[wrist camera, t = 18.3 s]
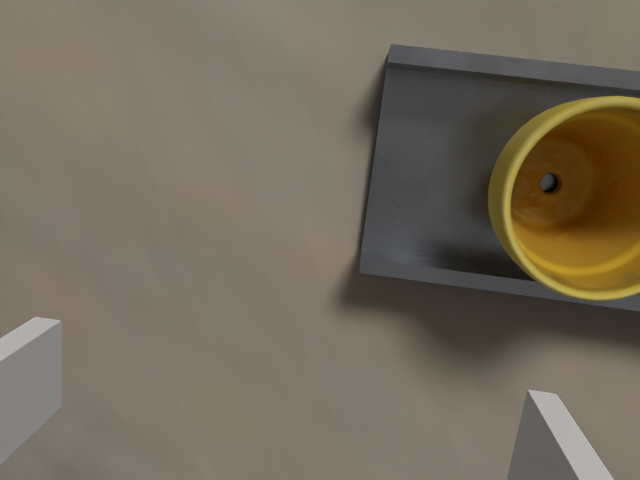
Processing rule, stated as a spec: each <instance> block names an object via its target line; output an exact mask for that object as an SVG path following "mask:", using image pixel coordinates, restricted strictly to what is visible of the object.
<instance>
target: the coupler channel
mask: <svg viewBox="0 0 640 480" xmlns="http://www.w3.org/2000/svg"><path fill="white" fill-rule="evenodd" d="M604 96H626V97H634V98H640V71H630V70H621V69H612V68H603V67H594V66H585V65H576V64H567V63H558V62H549V61H540V60H531V59H522V58H513V57H503V56H494V55H485V54H476V53H467V52H458V51H449V50H440V49H431V48H422V47H413V46H404V45H395V44H391V46H390V49H389V52H388V58H387V65H386V72H385V80H384V87H383V94H382V101H381V109H380V116H379V123H378V130H377V138H376V145H375V152H374V159H373V166H372V174H371V181H370V188H369V195H368V203H367V210H366V217H365V224H364V232H363V239H362V246H361V253H360V268H359V273H363V274H371V275H378V276H385V277H392V278H400V279H407V280H414V281H422V282H429V283H436V284H443V285H451V286H458V287H465V288H473V289H480V290H487V291H495V292H502V293H509V294H516V295H524V296H531V297H538V298H546V299H553V300H560V301H567V302H575V303H582V304H589V305H597V306H604V307H611V308H618V309H626V310H633V311H640V293H639V294H636V295H633V296H630V297H626V298H622V299H617V300H609V301H588V300H580V299H575V298H570V297H567V296H564V295H561V294H558V293H556V292H554V291H552V290H549V289H548V288H546V287H544V286H542V285H541V284H539V283H538V282H537V281H535V280H534V279H533V278H531V277H530V276H529V275H528V274H527V273H525V272H524V271H523V270H522V269H521V268H520V267H519V266H518V265H517V264H516V263H515V262H514V261H513V260H512V258H511V257H510V256H509V255H508V254H507V252H506V251H505V250H504V248H503V247H502V245H501V244H500V242H499V240H498V238H497V236H496V234H495V232H494V229H493V226H492V223H491V220H490V215H489V209H488V190H489V184H490V179H491V175H492V172H493V169H494V166H495V164H496V161H497V159H498V157H499V155H500V153H501V152H502V150H503V148H504V147H505V145H506V144H507V143H508V141H509V140H510V139H511V138H512V136H513V135H514V134H515V133H516V132H517V131H518V130H519V129H520V128H521V127H522V126H524V125H525V124H526V123H527V122H529V121H530V120H531V119H533V118H534V117H536V116H537V115H539V114H541V113H542V112H544V111H546V110H548V109H550V108H553V107H555V106H558V105H561V104H564V103H568V102H571V101H576V100H580V99H586V98H594V97H604ZM540 186H541V189H542V190H543V191H545V192H552V191H554V190H555V189H556V188H557V186H558V178H557V177H556V176H555V175H554V174H551V173H549V174H546V175H545V176H544V177H543V178H542V180H541V183H540Z"/></svg>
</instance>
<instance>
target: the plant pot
mask: <svg viewBox="0 0 640 480" xmlns="http://www.w3.org/2000/svg"><path fill="white" fill-rule="evenodd" d="M549 173H551V174H554V175H555V176H556V177H557V178H558V186H557V188H556V189H555V190H554V191H552V192H545V191H543V190H542V189H541V186H540V183H541V180H542V178H543V177H544V176H545V175H546V174H549ZM488 209H489V215H490V220H491V223H492V226H493V229H494V232H495V234H496V236H497V238H498V240H499V242H500V244H501V245H502V247H503V248H504V250H505V251H506V252H507V254H508V255H509V256H510V257H511V258H512V260H513V261H514V262H515V263H516V264H517V265H518V266H519V267H520V268H521V269H522V270H523V271H524V272H525V273H527V274H528V275H529V276H530V277H531V278H533V279H534V280H535V281H537V282H538V283H539V284H541V285H542V286H544V287H546V288H548V289H549V290H552V291H554V292H556V293H558V294H561V295H564V296H567V297H570V298H575V299H580V300H588V301H609V300H617V299H622V298H626V297H630V296H633V295H636V294H639V293H640V98H634V97H626V96H604V97H594V98H586V99H580V100H576V101H571V102H568V103H564V104H561V105H558V106H555V107H553V108H550V109H548V110H546V111H544V112H542V113H541V114H539V115H537V116H536V117H534V118H533V119H531V120H530V121H529V122H527V123H526V124H525V125H524V126H522V127H521V128H520V129H519V130H518V131H517V132H516V133H515V134H514V135H513V136H512V138H511V139H510V140H509V141H508V143H507V144H506V145H505V147H504V148H503V150H502V152H501V153H500V155H499V157H498V159H497V161H496V164H495V166H494V169H493V172H492V175H491V179H490V184H489V190H488Z"/></svg>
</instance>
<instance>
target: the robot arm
mask: <svg viewBox="0 0 640 480" xmlns="http://www.w3.org/2000/svg"><path fill="white" fill-rule="evenodd" d="M60 408H61V321H60V320H53V319H46V318H40V317H35V318H33V319H31V320H30V321H28V322H26V323H25V324H23V325H21V326H20V327H18V328H16V329H15V330H13V331H11V332H10V333H8V334H7V335H5V336H3V337H2V338H0V464H1V463H2V462H4V461H5V460H6V459H7V458H8V457H9V456H10V455H11V454H12V453H13V452H14V451H15V450H16V449H17V448H18V447H19V446H20V445H21V444H23V443H24V442H25V441H26V440H27V439H28V438H29V437H30V436H31V435H32V434H33V433H34V432H35V431H36V430H37V429H38V428H39V427H41V426H42V425H43V424H44V423H45V422H46V421H47V420H48V419H49V418H50V417H51V416H52V415H53V414H54V413H55V412H56V411H57V410H59V409H60ZM507 478H508V480H614V479H613V478H612V476H611V475H610V473H609V472H608V470H607V469H606V467H605V466H604V464H603V463H602V461H601V460H600V458H599V457H598V455H597V454H596V452H595V451H594V449H593V448H592V446H591V445H590V443H589V442H588V440H587V439H586V437H585V436H584V434H583V433H582V431H581V430H580V428H579V427H578V425H577V424H576V423H575V421H574V420H573V418H572V417H571V415H570V414H569V412H568V411H567V409H566V408H565V406H564V405H563V403H562V402H561V400H560V399H559V397H558V396H557V394H554V393H547V392H540V391H533V390H527V394H526V399H525V403H524V407H523V412H522V416H521V420H520V425H519V429H518V433H517V438H516V442H515V446H514V451H513V455H512V459H511V464H510V468H509V472H508V477H507Z"/></svg>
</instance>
